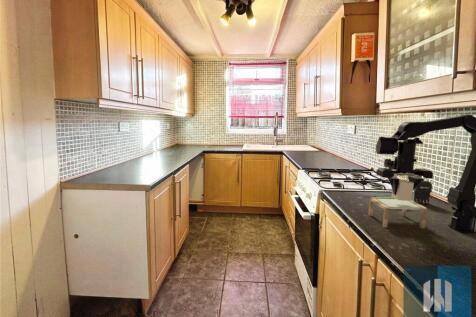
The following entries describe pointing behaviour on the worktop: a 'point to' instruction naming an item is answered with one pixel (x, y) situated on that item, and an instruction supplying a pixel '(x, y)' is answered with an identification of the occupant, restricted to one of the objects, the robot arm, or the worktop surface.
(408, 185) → the stone block
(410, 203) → the trapdoor
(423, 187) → the battery charger
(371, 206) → the frame
